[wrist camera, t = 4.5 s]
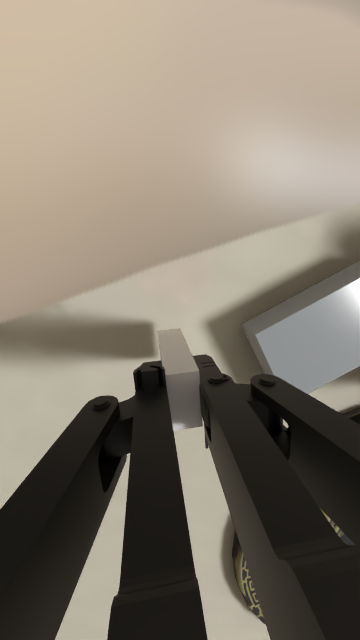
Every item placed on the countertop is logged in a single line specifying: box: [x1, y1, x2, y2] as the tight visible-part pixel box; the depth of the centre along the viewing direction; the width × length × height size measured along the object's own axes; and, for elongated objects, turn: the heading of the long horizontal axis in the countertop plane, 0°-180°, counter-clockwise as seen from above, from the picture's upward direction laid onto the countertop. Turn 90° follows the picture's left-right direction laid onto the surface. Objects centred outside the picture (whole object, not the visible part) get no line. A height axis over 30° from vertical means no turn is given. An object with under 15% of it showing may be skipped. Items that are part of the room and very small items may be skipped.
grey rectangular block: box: [241, 260, 360, 394], centre depth 19 cm, size 10×6×3 cm, turn 118°
